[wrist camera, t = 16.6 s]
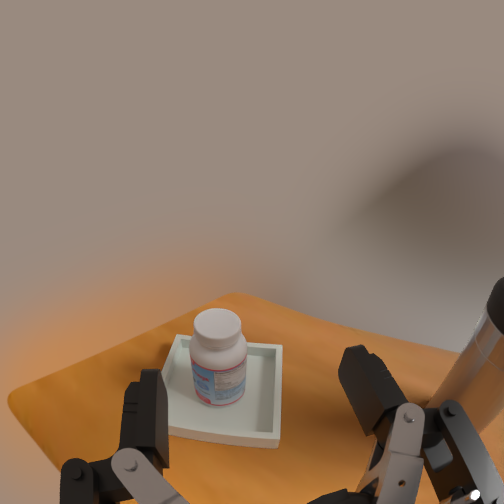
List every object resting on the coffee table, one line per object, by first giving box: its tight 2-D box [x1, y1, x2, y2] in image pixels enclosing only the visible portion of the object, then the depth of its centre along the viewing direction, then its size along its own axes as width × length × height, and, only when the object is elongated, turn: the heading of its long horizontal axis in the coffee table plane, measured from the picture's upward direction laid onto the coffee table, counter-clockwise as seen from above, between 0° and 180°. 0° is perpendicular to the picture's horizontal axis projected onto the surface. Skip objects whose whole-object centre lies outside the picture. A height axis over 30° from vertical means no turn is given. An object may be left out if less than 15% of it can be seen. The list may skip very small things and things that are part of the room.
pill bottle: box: [189, 308, 247, 408], centre depth 30 cm, size 6×6×11 cm
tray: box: [161, 334, 282, 449], centre depth 33 cm, size 15×15×2 cm
